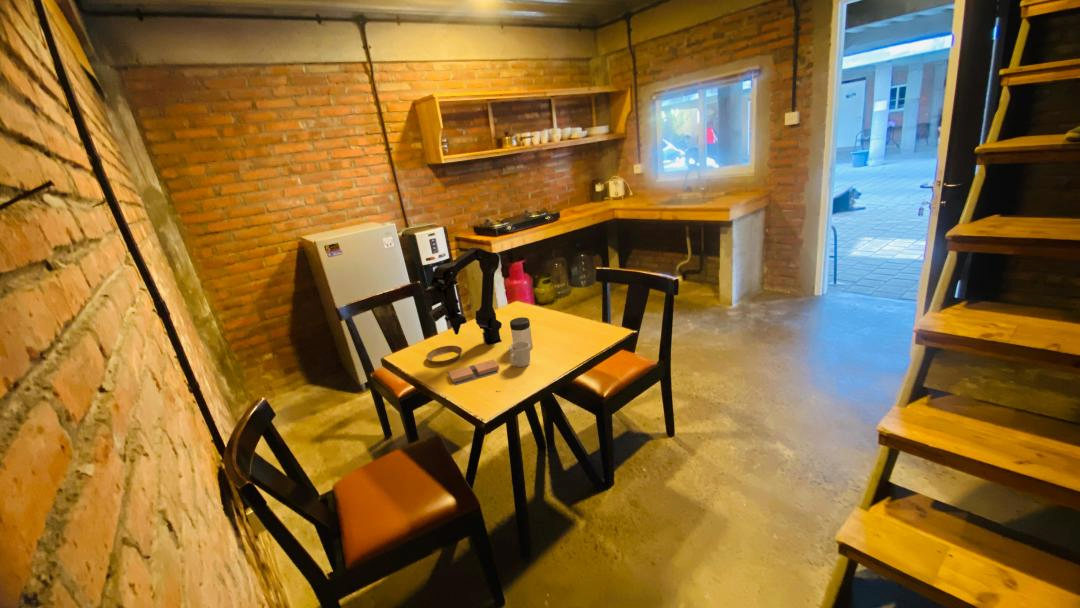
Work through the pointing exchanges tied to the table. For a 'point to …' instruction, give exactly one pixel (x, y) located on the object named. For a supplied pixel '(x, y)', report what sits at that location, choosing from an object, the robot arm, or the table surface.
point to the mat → (476, 376)
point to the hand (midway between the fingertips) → (456, 334)
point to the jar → (521, 330)
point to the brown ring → (444, 351)
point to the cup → (520, 354)
